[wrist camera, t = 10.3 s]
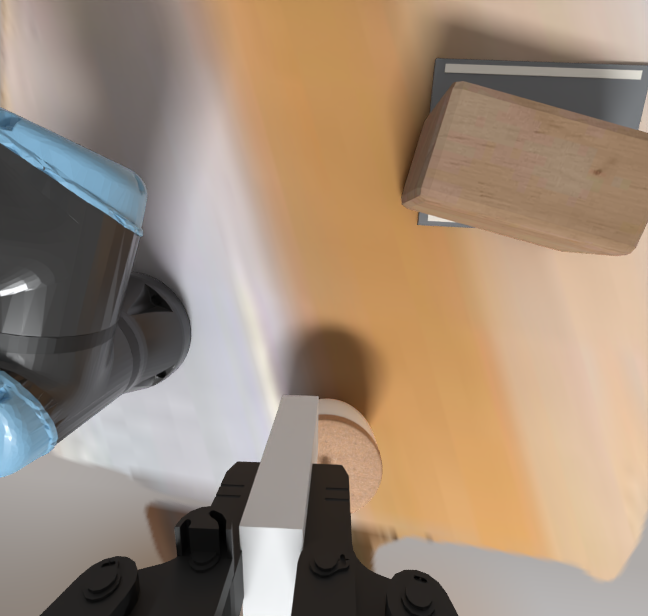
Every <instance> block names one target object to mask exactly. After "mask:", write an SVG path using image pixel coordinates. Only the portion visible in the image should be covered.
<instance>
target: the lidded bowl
mask: <svg viewBox="0 0 648 616" xmlns="http://www.w3.org/2000/svg"><path fill="white" fill-rule="evenodd" d="M317 464H337V465H343V467H344V468H345V470H346V472H347V473H348V475H349V488H350V489H349V491H350V512H351V513H354V512H356V511H358V510H359V509H361V508H362V507H364V506H365V505H366V504H367V503H368V502H369V501H370V500H371V499H372V498H373V496H374V495H375V494H376V492H377V490H378V488H379V485H380V483H381V479H382V461H381V456H380V452H379V450H378V446H377V442H376V438H375V436H374V433H373V431H372V429H371V427H370V425H369V424H368V422H367V420H366V419H365V417H364V416H363V415H362V414H361V413H360V412H359V411H358V410H356V409H355V408H354V407H353V406H351V405H349V404H348V403H345V402H343V401H340V400H336V399H328V398H327V399H319V405H318V457H317Z"/></svg>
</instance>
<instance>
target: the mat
mask: <svg viewBox="0 0 648 616" xmlns="http://www.w3.org/2000/svg"><path fill="white" fill-rule="evenodd" d="M460 81H465V82H468V83H472V84H476V85H479V86H483V87H486V88H490V89H493V90H497V91H500V92H504V93H508V94H511V95H515V96H518V97H522V98H525V99H529V100H532V101H536V102H540V103H543V104H547V105H550V106H554V107H557V108H561V109H564V110H568V111H571V112H575V113H579V114H582V115H586V116H589V117H593V118H596V119H600V120H603V121H607V122H611V123H614V124H618V125H621V126H625V127H628V128H632V129H635V130H638V129H639V124H640V120H641V116H642V111H643V107H644V103H645V99H646V94H647V90H648V66H645V65H616V64H587V63H558V62H529V61H499V60H470V59H441V58H436V60H435V67H434V77H433V86H432V95H431V104H430V113H431V112H432V110H433V109H434V108H435V106H436V105H437V104H438V102H439V101H440V99H441V98H442V97H443V95H444V94H445V93H446V91H447V90H448V89H449V87H450V86H451V85H452V83H454V82H460ZM430 113H429V114H430ZM417 225H429V226H448V227H467V228H475V227H472V226H468V225H464V224H461V223H457V222H454V221H450V220H446V219H443V218H439V217H436V216H432V215H428V214H425V213H421V212H419V214H418V223H417Z"/></svg>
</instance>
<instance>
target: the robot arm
mask: <svg viewBox="0 0 648 616" xmlns="http://www.w3.org/2000/svg"><path fill="white" fill-rule="evenodd" d="M146 202H147V189H146V186H145V184H144V182H143V180H142V179H141V178H140V177H139V176H138V175H137V174H136V173H135V172H134V171H132V170H130V169H129V168H127V167H124V166H122V165H120V164H118V163H116V162H114V161H112V160H110V159H108V158H106V157H104V156H102V155H99V154H97V153H95V152H93V151H91V150H89V149H87V148H85V147H83V146H81V145H79V144H77V143H75V142H72V141H70V140H68V139H66V138H64V137H62V136H60V135H58V134H56V133H54V132H52V131H50V130H47V129H45V128H43V127H41V126H39V125H37V124H35V123H33V122H31V121H29V120H27V119H25V118H22V117H20V116H18V115H16V114H14V113H12V112H10V111H8V110H6V109H4V108H2V107H0V477H5V476H7V475H10V474H13V473H14V472H16V471H18V470H20V469H21V468H23V467H24V466H26V465H28V464H29V463H31V462H33V461H34V460H36V459H37V458H39V457H41V456H43V455H46V454H47V453H49V452H50V451H51V450H52V449H53V448H54V446H55V445H56V444H57V443H59V442H60V441H61V440H63V439H64V438H65V437H67V436H68V435H69V434H70V433H72V432H73V431H74V430H76V429H77V428H78V427H80V426H81V425H82V424H84V423H85V422H86V421H88V420H89V419H90V418H91V417H93V416H94V415H95V414H97V413H98V412H99V411H101V410H102V409H103V408H105V407H106V406H107V405H109V404H110V403H111V402H113V401H114V400H115V399H116V398H118V397H119V396H120V395H122V394H124V393H128V392H133V391H137V390H141V389H145V388H149V387H151V386H154V385H156V384H158V383H160V382H162V381H163V380H165V379H166V378H167V377H169V376H170V375H171V374H172V373H173V372H174V371H176V370H177V369H178V368H179V366H180V365H181V364H182V362H183V361H184V359H185V357H186V355H187V353H188V350H189V346H190V340H191V329H190V323H189V319H188V316H187V313H186V311H185V309H184V307H183V305H182V303H181V302H180V300H179V299H178V298H177V296H176V295H175V294H174V293H173V292H172V291H171V290H170V289H169V288H168V287H167V286H166V285H164V284H163V283H161V282H160V281H158V280H157V279H155V278H153V277H151V276H148V275H145V274H142V273H138V272H131V270H132V267H133V263H134V259H135V255H136V251H137V247H138V243H139V240H140V236H141V237H142V236H143V230H142V223H143V218H144V213H145V208H146ZM318 405H319V396H300V395H283V396H282V399H281V402H280V405H279V408H278V411H277V414H276V417H275V420H274V423H273V426H272V429H271V432H270V435H269V438H268V441H267V444H266V447H265V450H264V453H263V456H262V459H261V462H237V463H235V464H234V465H233V466H232V467H231V468H230V469H229V470H228V471H227V472H226V474H225V477H224V479H223V481H222V483H221V487H219V490H218V492H217V494H216V497H215V498H214V501H213V503H212V505H211V506H208V507H201V508H199V509H196V510H193V511H191V512H190V513H188V514H187V515H185V516H184V517H183V518H181V519H180V521H179V522H178V523H177V525H176V526H175V538H176V548H177V557H176V558H175V559H173V560H171V561H168V562H165V563H163V564H159V565H155V566H152V567H147V568H143V569H139V570H137V567H136V564H135V562H134V561H133V560H131V559H130V558H128V557H121V556H116V557H112V558H108V559H104V560H102V561H100V562H98V563H96V564H94V565H93V566H91V567H90V568H89V569H87V570H86V571H85V572H84V573H82V574H81V575H80V576H79V577H78V578H77V579H76V580H75V581H74V582H73V583H72V584H71V585H70V586H69V587H68V588H67V589H66V590H65V591H64V592H63V593H62V594H61V595H60V596H59V597H58V598H57V599H56V600H55V601H54V602H53V603H52V604H51V605H50V606H49V607H48V608H47V609H46V610H45V611H44V612H43V613H42V614H41V615H40V616H239V615H240V611H241V607H242V603H243V616H458V614H457V612H456V610H455V608H454V606H453V604H452V603H451V601H450V599H449V597H448V595H447V593H446V592H445V590H444V589H443V588H442V586H441V585H440V584H439V582H437V581H436V580H435V579H433V578H432V577H431V576H429V575H428V574H426V573H423V572H420V571H417V570H404V571H401V572H399V573H396V574H395V575H394V576H393V578H392V579H389V578H386V577H384V576H381V575H378V574H376V573H374V572H372V571H370V570H369V569H367V568H366V567H365V566H364V565H362V564H361V562H360V561H359V560H358V558H357V557H356V555H355V553H354V551H353V547H352V536H351V512H350V491H349V489H350V488H349V475H348V473H347V472H346V470H345V468H344V467H343V465H337V464H317V457H318Z"/></svg>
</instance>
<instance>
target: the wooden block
mask: <svg viewBox="0 0 648 616" xmlns="http://www.w3.org/2000/svg"><path fill="white" fill-rule="evenodd" d="M401 200H402V205H403V206H405V207H406V208H407V209H410V210H414V211H418V212H421V213H425V214H428V215H432V216H436V217H439V218H443V219H446V220H450V221H454V222H457V223H461V224H464V225H468V226H472V227H475V228H479V229H482V230H486V231H490V232H493V233H497V234H500V235H504V236H508V237H511V238H515V239H518V240H522V241H526V242H529V243H533V244H536V245H540V246H544V247H547V248H551V249H554V250H558V251H562V252H574V253H586V254H598V255H610V256H621V255H627V254H630V253H631V252H632V251H633V250H634V249H635V248H636V246H637V244H638V242H639V239H640V237H641V235H642V233H643V231H644V229H645V227H646V224H647V222H648V133H646V132H643V131H639V130H635V129H632V128H628V127H625V126H621V125H618V124H614V123H611V122H607V121H603V120H600V119H596V118H593V117H589V116H586V115H582V114H579V113H575V112H571V111H568V110H564V109H561V108H557V107H554V106H550V105H547V104H543V103H540V102H536V101H532V100H529V99H525V98H522V97H518V96H515V95H511V94H508V93H504V92H500V91H497V90H493V89H490V88H486V87H483V86H479V85H476V84H472V83H468V82H465V81H460V82H454V83H452V85H451V86H450V87H449V89H448V90H447V91H446V93H445V94H444V95H443V97H442V98H441V99H440V101H439V102H438V104H437V105H436V106H435V108H434V109H433V110H432V112H431V113H430V114H429V116H428V117H427V118H426V120H425V121H424V124H423V128H422V131H421V134H420V138H419V141H418V144H417V147H416V151H415V154H414V157H413V160H412V164H411V167H410V170H409V174H408V177H407V180H406V183H405V187H404V190H403V193H402V196H401Z"/></svg>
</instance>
